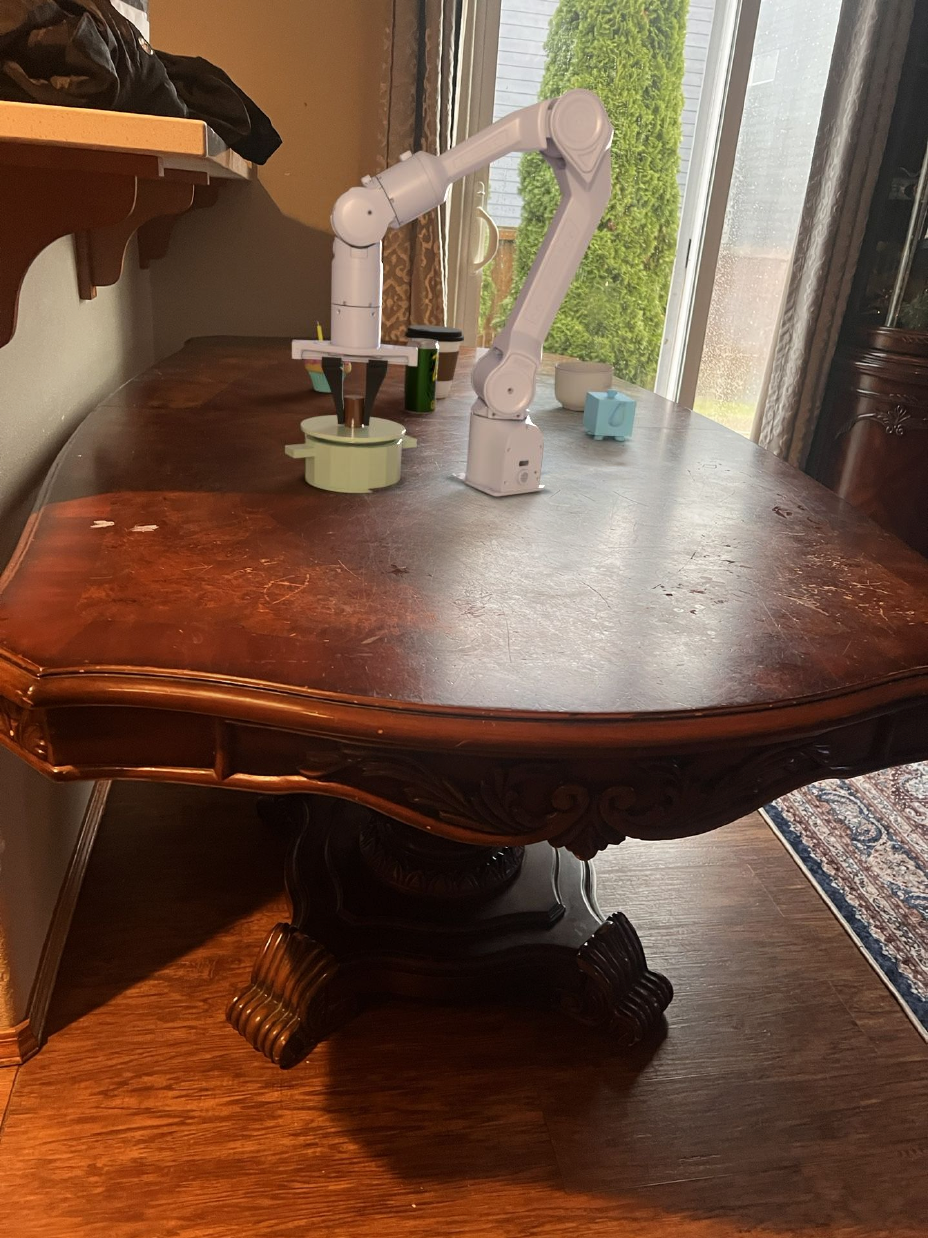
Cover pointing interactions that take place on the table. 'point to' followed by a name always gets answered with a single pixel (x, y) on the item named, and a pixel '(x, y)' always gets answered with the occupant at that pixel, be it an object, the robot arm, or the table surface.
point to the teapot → (609, 414)
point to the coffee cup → (441, 352)
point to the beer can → (421, 377)
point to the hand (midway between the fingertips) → (353, 423)
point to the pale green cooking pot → (350, 463)
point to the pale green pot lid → (353, 425)
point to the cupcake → (317, 373)
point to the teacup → (580, 382)
